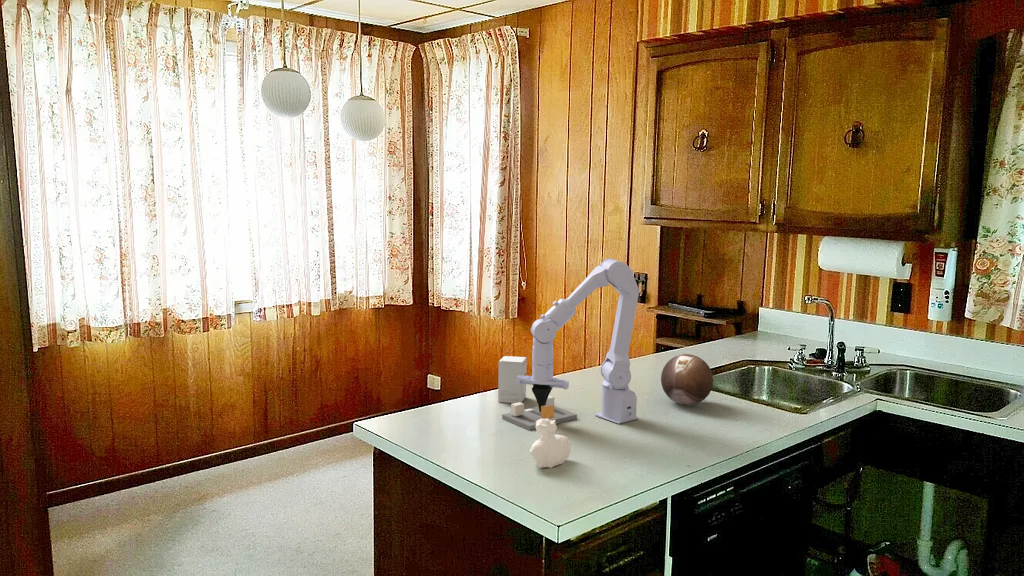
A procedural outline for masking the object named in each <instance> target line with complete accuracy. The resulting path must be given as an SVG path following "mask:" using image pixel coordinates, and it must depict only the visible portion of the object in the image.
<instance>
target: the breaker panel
mask: <svg viewBox="0 0 1024 576" xmlns="http://www.w3.org/2000/svg"><path fill="white" fill-rule="evenodd" d="M548 404H550V405H553V406H554V417H550V418H549V420H551V421H553V420H556V421H555V423H556V425H557V424H560V423H565V422H568V421H573V420H576V419H578V414H577V413H575V412H572V411H570V410H566V409H563V408H561V407H559V406H555V397H554V396H552V395H549V396H548V399H547V401H546V405H548ZM541 418H543V417H541V412H539V407H538V406H533V407H529V408H527V409H525V403H523V402H522V403H521V402H518V403H510V412H508V413H503V414H502V415H501V419H502V420H504V421H507V422H508V421H509V423H511V424H514V425H516V426H518V427H520V428H523V429H525V430H528V431H532V430H536V428H535V427H536V421H537V420H539V419H541ZM543 419H548V418H543Z"/></svg>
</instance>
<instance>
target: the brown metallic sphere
mask: <svg viewBox="0 0 1024 576" xmlns="http://www.w3.org/2000/svg"><path fill="white" fill-rule="evenodd" d="M660 383H661V387H662V390H663V392H664V393H665V395H666V396H667V398H669V399H670V400H671V401H673V402H674V403H676V404H679V405H681V406H682V405H683V406H694V405H697V404H700V403H701V402H703V401H705V399H707V398H708V397H709V395H710V393H711V391H712V389H713V386H714V375H713V372H712V370H711V367H710V365H708V363H707V362H706V361H705V360H703V359H702V358H701V357H700V356H697V355H695V354H687V353H685V354H678V355H675V356H674V357H672V358H671V359H669V360H668V361H667V362H666V363H665V365H664V366H663V368H662V371H661V375H660Z"/></svg>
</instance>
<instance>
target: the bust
mask: <svg viewBox="0 0 1024 576" xmlns="http://www.w3.org/2000/svg"><path fill="white" fill-rule="evenodd" d="M555 421H556V420H553V421H551V420H549V418H548V419H543V418H541V419H539V420H537V421H536V427H535V428H536V429H535V430H536V434H539V433H540V434H539V435H540V436H539V438H538V439H537V440H535V441H534V443H532V445H531V447H530V450H529V454H530V455H531V457H532V459H533V460H534V461H535V463H536V466H537V467H538V468H541V469H542V468H550V469H551V468H553V467H556V466H558V465H563V464H564V463H565V461H566V460H567V459H569V457H570V454H571V449H572V448H571V443H570V441H569V438H568V437H567V436H565V435H561V434H555V433H556V430H558V426H557V424H556V423H555Z"/></svg>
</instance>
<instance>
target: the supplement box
mask: <svg viewBox="0 0 1024 576" xmlns="http://www.w3.org/2000/svg"><path fill="white" fill-rule="evenodd" d="M527 362H528V359H527V356H509V355H506V356H505V355H504V356H502V358H500V359H499V361H498V374H497V375H498V380H497V381H498V383H497V384H498V386H497V387H498V388H497V389H498V391H497V399H498V400H497V402H498V403H507V404H508V403H510V404H513V403H518V402H521V403H523V402H524V400H525V399H526V397H527V384H517V377H518V376H519V375H520V376H527Z"/></svg>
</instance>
